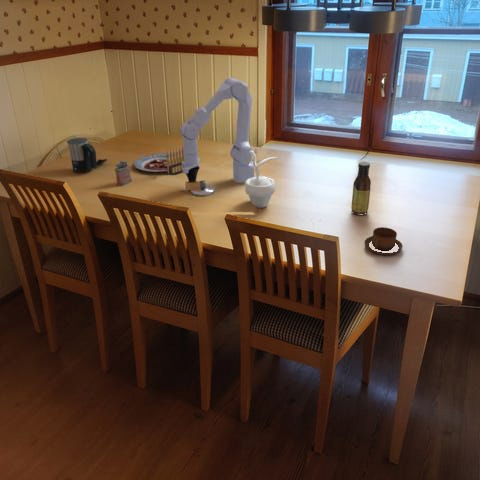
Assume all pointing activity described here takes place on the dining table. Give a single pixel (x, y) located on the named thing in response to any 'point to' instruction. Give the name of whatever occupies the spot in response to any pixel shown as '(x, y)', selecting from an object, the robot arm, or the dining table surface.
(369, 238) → the cup and saucer
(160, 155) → the ceramic plate
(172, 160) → the ammunition clip
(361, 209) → the sauce bottle
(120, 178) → the lighter
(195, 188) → the dial
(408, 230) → the dining table surface
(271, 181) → the potted plant
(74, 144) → the milk frother
